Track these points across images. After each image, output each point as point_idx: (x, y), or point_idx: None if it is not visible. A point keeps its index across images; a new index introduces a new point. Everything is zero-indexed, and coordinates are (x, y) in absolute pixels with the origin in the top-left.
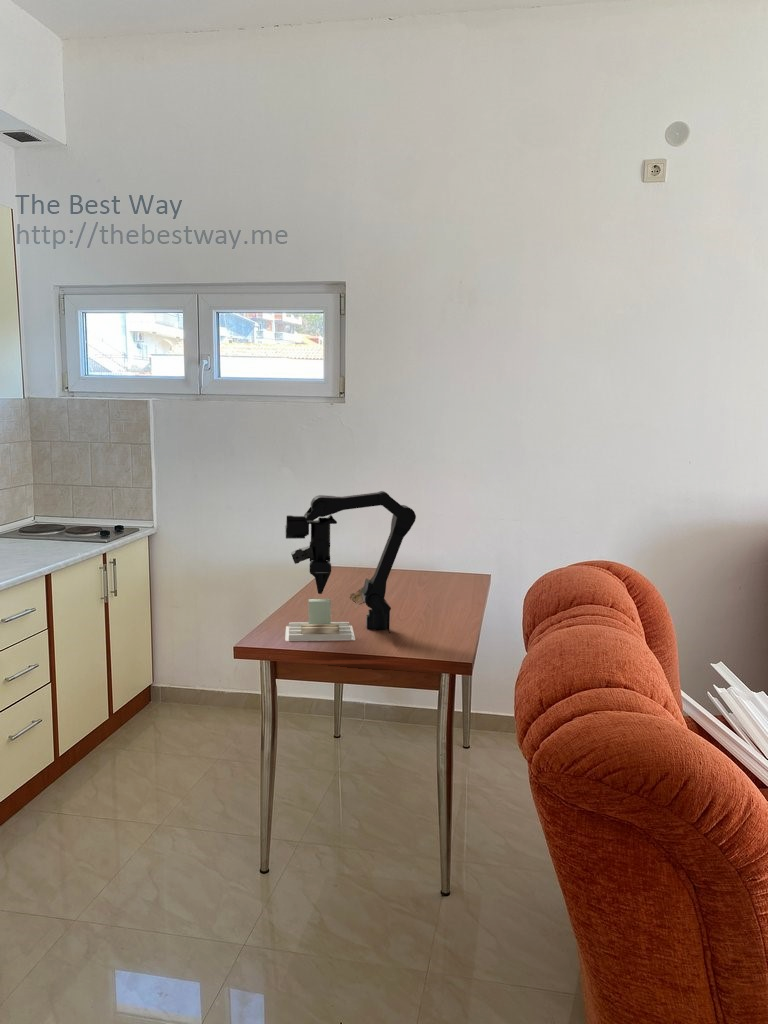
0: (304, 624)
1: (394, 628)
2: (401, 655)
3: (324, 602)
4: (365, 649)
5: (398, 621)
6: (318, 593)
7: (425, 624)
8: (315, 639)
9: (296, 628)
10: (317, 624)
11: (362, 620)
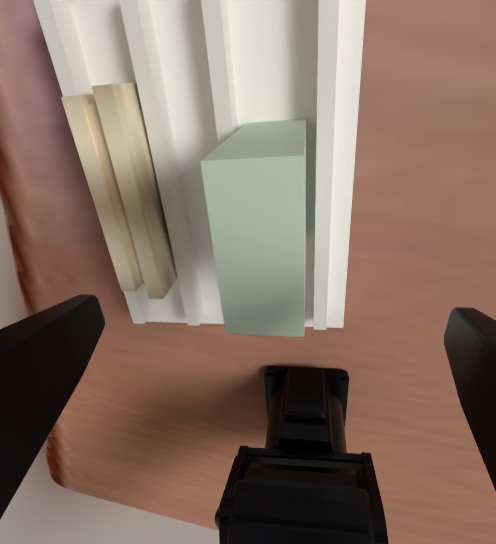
0: (317, 91)
1: None
2: (66, 405)
3: (222, 288)
4: None
5: (424, 459)
6: (82, 297)
7: None
8: None
9: (207, 40)
10: (136, 193)
11: None
